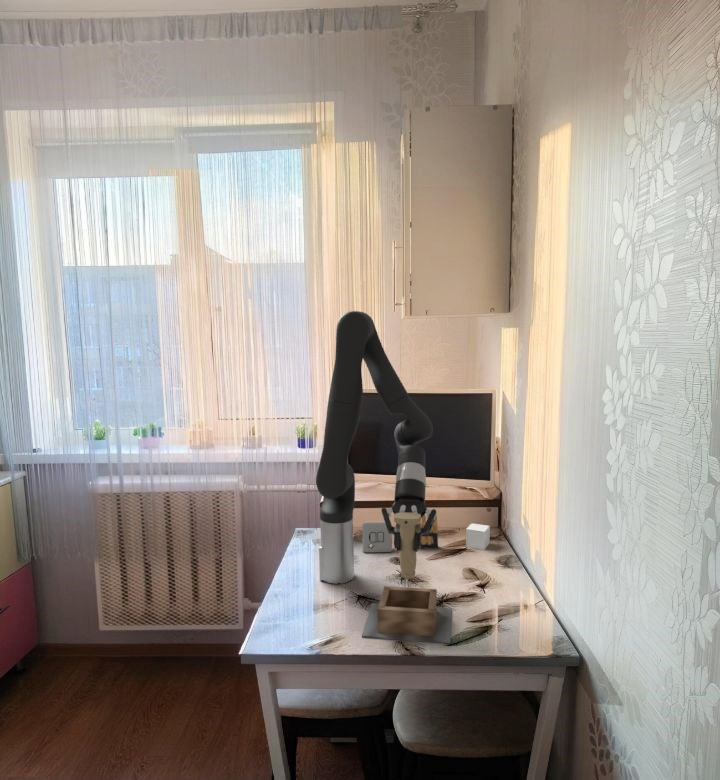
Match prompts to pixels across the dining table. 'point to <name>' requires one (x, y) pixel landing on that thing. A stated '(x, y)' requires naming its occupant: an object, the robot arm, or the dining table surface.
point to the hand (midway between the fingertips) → (407, 549)
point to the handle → (407, 542)
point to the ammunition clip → (429, 535)
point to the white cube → (478, 536)
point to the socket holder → (408, 616)
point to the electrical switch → (376, 537)
